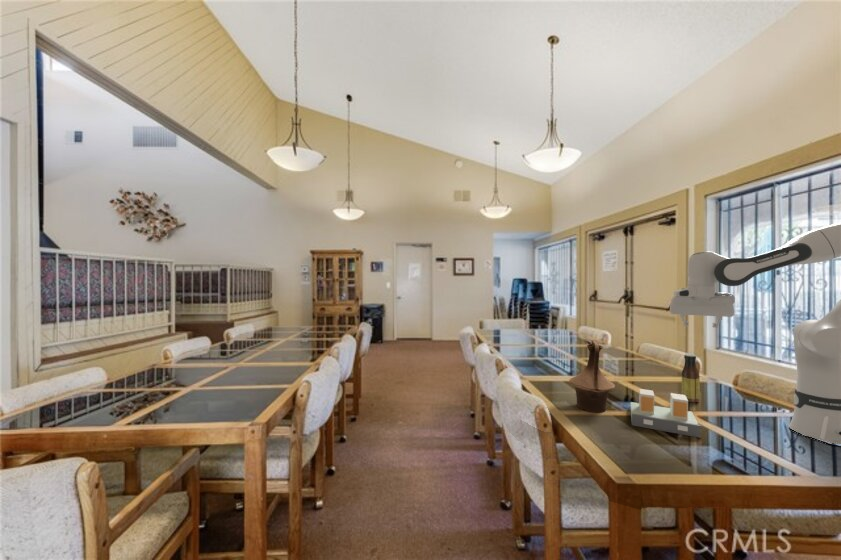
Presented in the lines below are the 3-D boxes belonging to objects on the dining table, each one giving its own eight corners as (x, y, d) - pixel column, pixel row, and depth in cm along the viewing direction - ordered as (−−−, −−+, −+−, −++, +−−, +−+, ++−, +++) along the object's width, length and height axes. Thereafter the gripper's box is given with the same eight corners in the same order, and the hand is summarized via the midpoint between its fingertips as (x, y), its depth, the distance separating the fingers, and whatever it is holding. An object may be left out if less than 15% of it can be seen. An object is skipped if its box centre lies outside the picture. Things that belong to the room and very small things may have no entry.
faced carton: (652, 408, 138) (652, 390, 138) (654, 414, 132) (654, 396, 132) (638, 406, 140) (639, 388, 140) (639, 412, 134) (640, 393, 134)
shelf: (691, 419, 135) (691, 408, 135) (700, 438, 120) (701, 426, 120) (630, 409, 145) (630, 399, 145) (631, 425, 130) (632, 414, 130)
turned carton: (684, 413, 133) (685, 395, 133) (687, 420, 127) (688, 400, 127) (670, 411, 135) (670, 393, 135) (672, 417, 129) (672, 398, 129)
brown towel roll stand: (621, 418, 136) (622, 345, 135) (573, 414, 139) (574, 343, 139) (607, 401, 153) (608, 336, 152) (565, 398, 157) (565, 335, 156)
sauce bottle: (693, 398, 157) (694, 353, 157) (703, 403, 151) (704, 357, 151) (677, 397, 158) (678, 353, 157) (686, 403, 152) (687, 356, 151)
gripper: (732, 292, 140) (731, 327, 140) (669, 291, 150) (668, 323, 150) (737, 293, 134) (736, 329, 135) (671, 291, 144) (670, 325, 145)
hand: (700, 326), depth 143 cm, fingers open, 8 cm apart
